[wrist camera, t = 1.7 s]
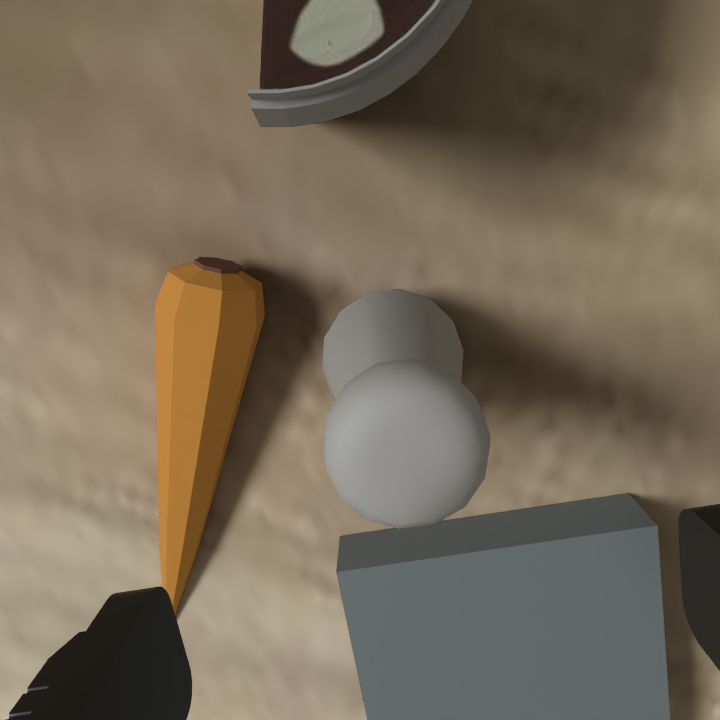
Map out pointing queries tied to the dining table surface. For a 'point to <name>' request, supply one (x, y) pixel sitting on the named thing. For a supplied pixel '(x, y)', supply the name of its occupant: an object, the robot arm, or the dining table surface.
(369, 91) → the food container
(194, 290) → the carrot
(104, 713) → the robot arm
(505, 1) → the dining table surface
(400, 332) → the salt shaker
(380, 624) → the base plinth
